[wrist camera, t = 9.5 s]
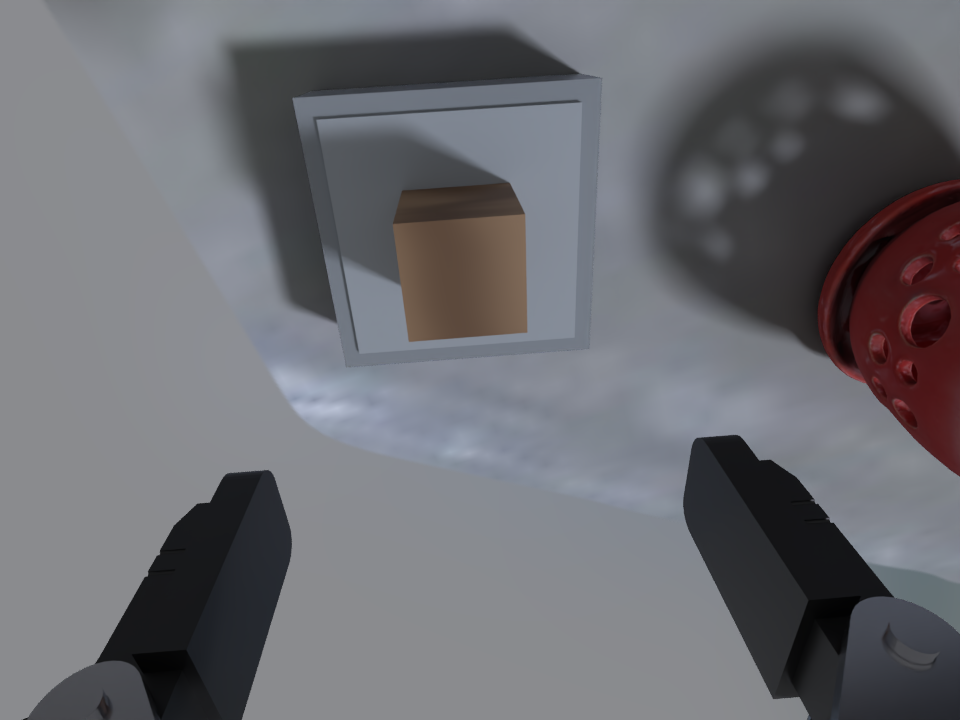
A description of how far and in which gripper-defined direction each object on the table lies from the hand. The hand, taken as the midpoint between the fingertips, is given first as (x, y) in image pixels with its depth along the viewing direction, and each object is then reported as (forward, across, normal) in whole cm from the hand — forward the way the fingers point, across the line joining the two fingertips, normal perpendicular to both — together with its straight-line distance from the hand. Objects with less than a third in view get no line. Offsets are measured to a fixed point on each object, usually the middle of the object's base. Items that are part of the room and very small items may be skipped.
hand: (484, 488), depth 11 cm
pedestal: (+20, 0, 0) cm, 20 cm away
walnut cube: (+16, 0, 0) cm, 16 cm away
